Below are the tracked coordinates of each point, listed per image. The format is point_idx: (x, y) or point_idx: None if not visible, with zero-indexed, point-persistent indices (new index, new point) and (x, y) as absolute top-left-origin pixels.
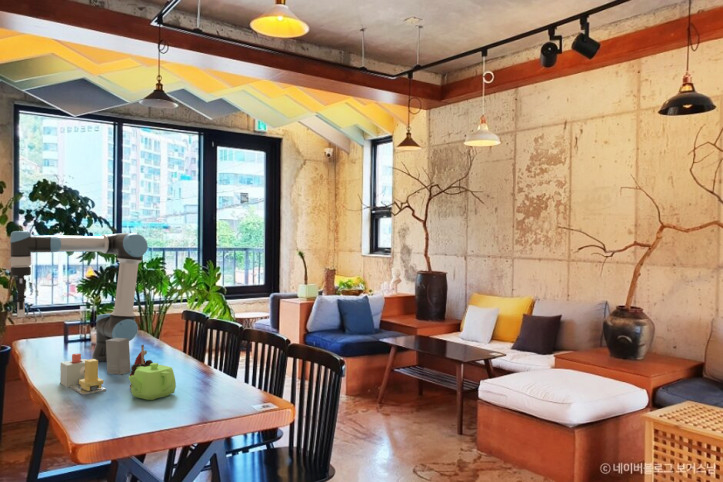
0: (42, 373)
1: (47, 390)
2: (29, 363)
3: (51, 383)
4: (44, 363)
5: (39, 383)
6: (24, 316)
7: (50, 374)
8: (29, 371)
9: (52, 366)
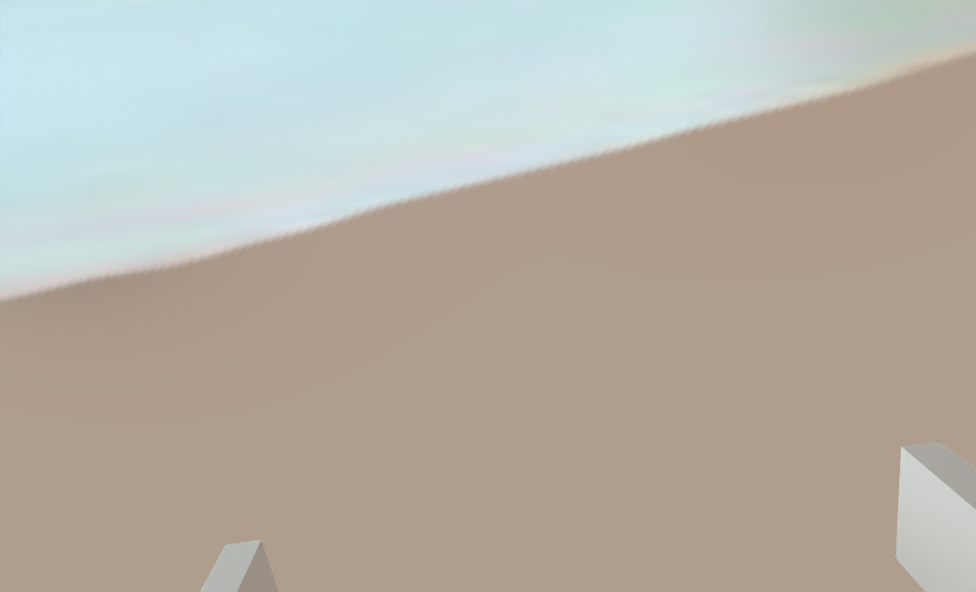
0: (397, 119)
1: (951, 13)
2: (21, 261)
3: (752, 10)
4: (34, 151)
5: (715, 97)
6: (949, 452)
7: (450, 54)
8: (304, 220)
9: (160, 73)
